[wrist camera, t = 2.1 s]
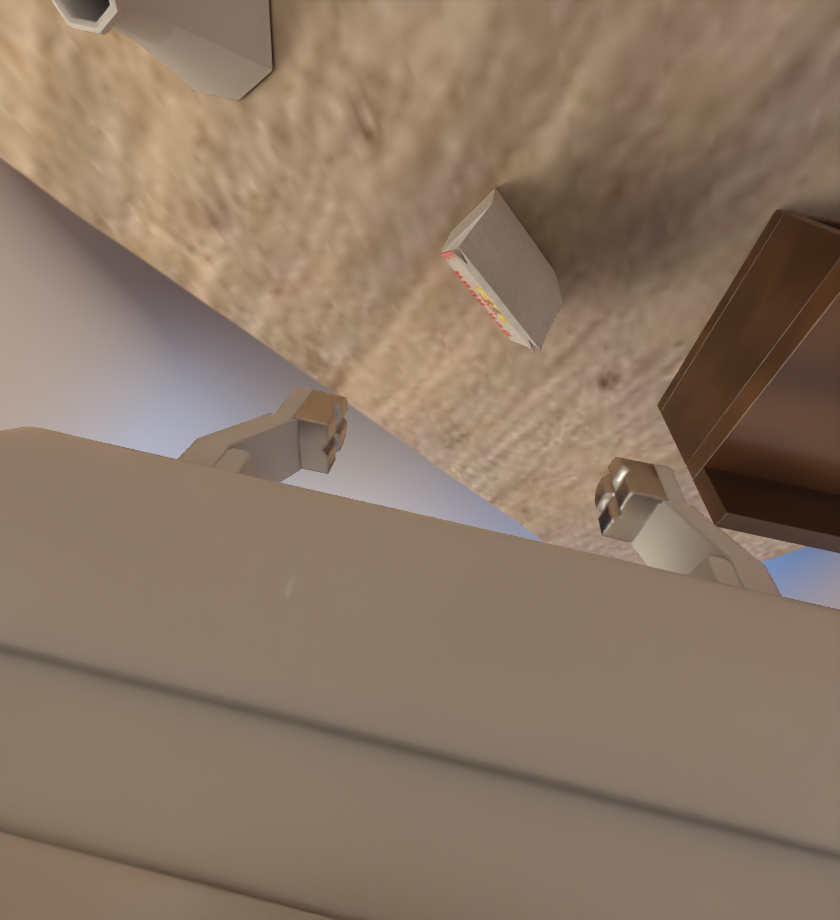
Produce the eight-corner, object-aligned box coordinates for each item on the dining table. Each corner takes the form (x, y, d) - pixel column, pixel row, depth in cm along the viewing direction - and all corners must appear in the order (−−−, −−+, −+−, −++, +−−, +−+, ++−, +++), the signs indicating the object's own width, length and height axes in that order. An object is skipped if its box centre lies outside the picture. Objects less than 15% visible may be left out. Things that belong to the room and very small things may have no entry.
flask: (293, 87, 25) (198, 79, 17) (190, 112, 27) (63, 115, 19) (243, -108, 21) (86, -231, 13) (123, -62, 22) (-77, -149, 15)
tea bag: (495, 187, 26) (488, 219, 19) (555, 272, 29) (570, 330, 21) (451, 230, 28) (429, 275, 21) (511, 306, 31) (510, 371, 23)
